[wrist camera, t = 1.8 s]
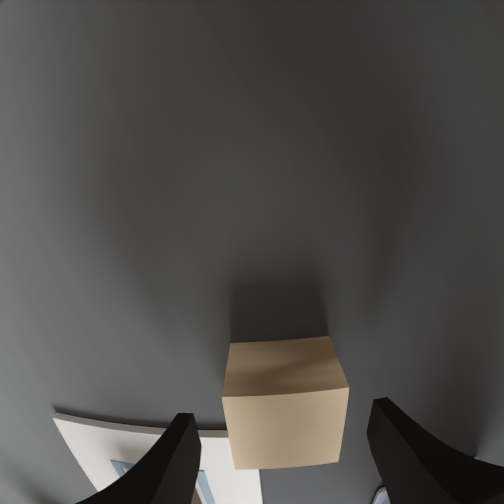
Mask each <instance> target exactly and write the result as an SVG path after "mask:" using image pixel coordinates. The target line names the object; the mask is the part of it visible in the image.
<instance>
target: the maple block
mask: <svg viewBox="0 0 504 504" xmlns="http://www.w3.org/2000/svg"><path fill="white" fill-rule="evenodd" d="M348 394H349V385H348V383H347V380H346V378H345V375H344V373H343V370H342V367H341V365H340V362H339V360H338V357H337V355H336V352H335V350H334V347H333V345H332V342H331V340H330V338H329V336H326V337H316V338H305V339H292V340H279V341H263V342H245V343H230V348H229V354H228V360H227V367H226V373H225V379H224V386H223V392H222V401H223V407H224V413H225V419H226V424H227V430H228V436H229V441H230V446H231V452H232V457H233V462H234V467H235V470H246V469H274V468H289V467H300V466H310V465H319V464H326V463H333V462H338V460H339V455H340V449H341V443H342V437H343V430H344V424H345V417H346V410H347V402H348Z"/></svg>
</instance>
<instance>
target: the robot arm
mask: <svg viewBox="0 0 504 504" xmlns="http://www.w3.org/2000/svg"><path fill="white" fill-rule="evenodd" d="M367 437H368V441H369V445H370V449H371V453H372V456H373V458H374V461H375V463H376V466H377V468H378V471H379V473H380V476H381V478H382V481H383V484H384V486H385V487H384V488H381V489H379V490H378V491H377V493H376V496H375V498H374V500H373V503H372V504H504V467H502V466H498V465H494V464H490V463H487V462H484V461H481V460H479V459H478V457H474V458H473V457H470V456H468V455H466V454H464V453H461V452H459V451H457V450H455V449H454V448H452V447H450V446H448V445H447V444H445V443H443V442H442V441H440V440H438V439H437V438H436V437H434V436H433V435H431V434H430V433H428V432H427V431H426V430H425V429H423V428H422V427H421V426H420V425H418V424H417V423H416V422H415V421H413V420H412V419H411V418H410V417H409V416H408V415H407V414H405V413H404V412H403V411H402V410H401V409H400V408H399V407H398V406H397V405H395V404H394V403H393V402H392V401H391V400H390V399H389V398H388V397H385V398H380V399H374V400H373V404H372V409H371V414H370V419H369V424H368V429H367ZM201 449H202V444H201V441H200V437H199V433H198V430H197V426H196V422H195V418H194V414H193V413H178V414H177V415H176V416H175V418H174V419H173V421H172V422H171V423H170V425H169V426H168V427H167V429H166V430H165V431H164V433H163V434H162V435H161V436H160V438H159V439H158V440H157V441H156V442H155V444H154V445H153V446H152V447H151V448H150V450H149V451H148V452H147V453H146V454H145V455H144V456H143V457H142V458H141V459H140V460H139V461H138V462H137V463H136V464H135V465H134V466H133V467H132V468H131V469H130V470H128V471H127V472H126V473H125V474H124V475H122V476H121V477H120V478H119V479H117V480H116V481H115V482H113V483H112V484H110V485H109V486H107V487H106V488H104V489H103V490H101V491H99V492H98V493H96V494H94V495H92V496H90V497H89V498H87V499H85V500H83V501H80V502H78V503H76V504H191V502H192V498H193V494H194V489H195V485H196V481H197V477H198V472H199V468H200V460H201Z"/></svg>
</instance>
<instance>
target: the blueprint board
mask: <svg viewBox="0 0 504 504" xmlns="http://www.w3.org/2000/svg"><path fill="white" fill-rule="evenodd" d="M53 420H54V421H55V423H56V425H57V427H58V429H59V431H60V432H61V434H62V436H63V438H64V439H65V441H66V443H67V445H68V446H69V448H70V450H71V451H72V453H73V455H74V456H75V458H76V459H77V461H78V462H79V464H80V466H81V467H82V469H83V470H84V472H85V473H86V475H87V476H88V478H89V479H90V481H91V482H92V483H93V485H94V486H95V488H96V489H97V490H98V492H99V491H101V490H103V489H104V488H106V487H107V486H109V485H110V484H112V483H113V482H115V481H116V480H117V479H119V478H120V477H121V476H122V475H124V474H125V473H126V472H127V470H130V469H131V468H132V467H133V466H134V465H135V464H136V463H137V462H138V461H139V460H140V459H141V458H142V457H143V456H144V455H145V454H146V453H147V452H148V451H149V450H150V448H151V447H152V446H153V445H154V444H155V442H156V441H157V440H158V439H159V438H160V436H161V435H162V434H163V433H164V431H165V430H166V429H167V428H156V427H145V426H135V425H127V424H119V423H112V422H105V421H98V420H92V419H87V418H81V417H76V416H71V415H66V414H61V413H57V412H56V414H55V415H54V417H53ZM198 433H199V437H200V441H201V444H202V449H201V460H200V468H199V472H198V477H197V481H196V485H195V487H196V489H197V492H198V495H199V497H200V499H201V502H202V504H263V498H262V489H261V480H260V471H259V469H246V470H235V467H234V462H233V457H232V452H231V446H230V441H229V436H228V430H198Z"/></svg>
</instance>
